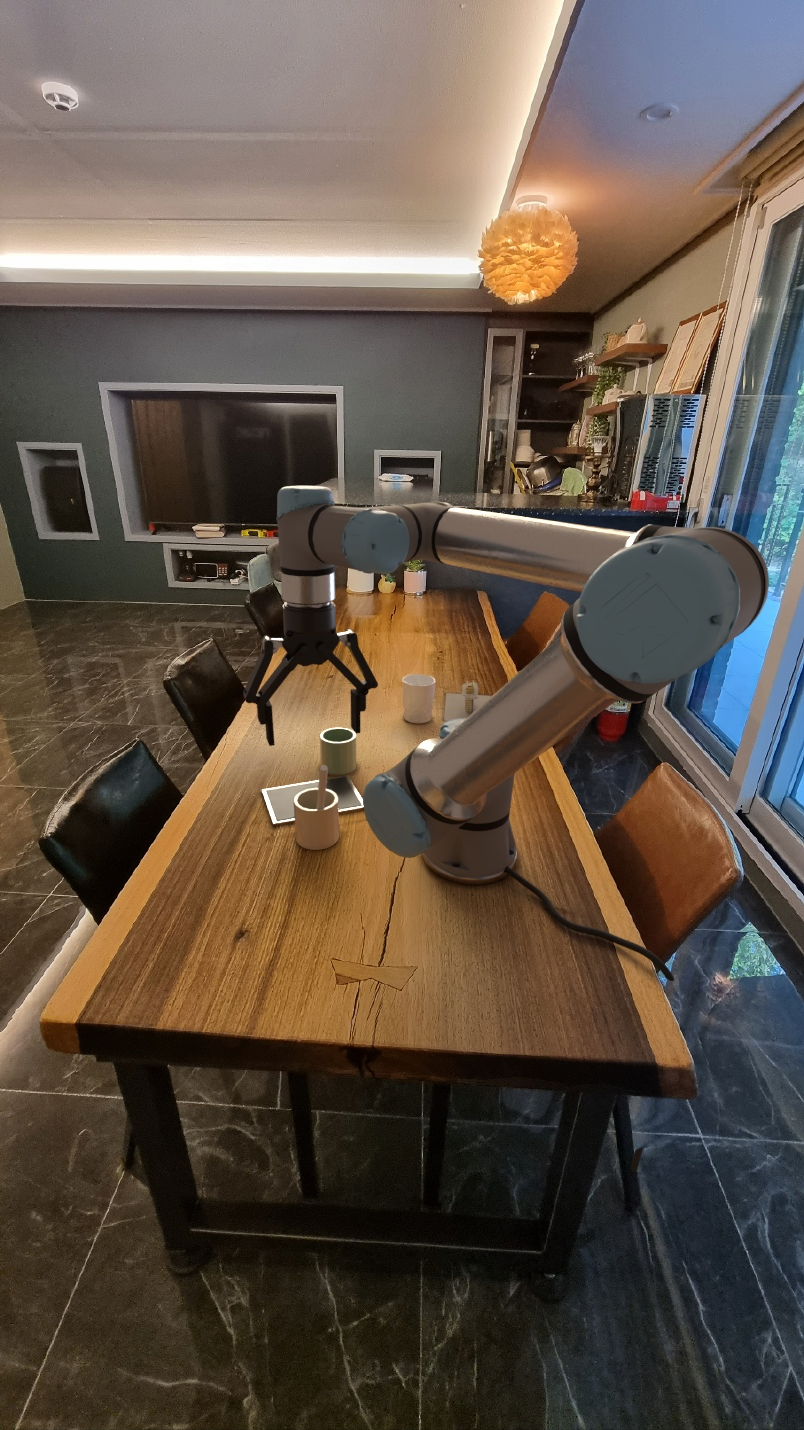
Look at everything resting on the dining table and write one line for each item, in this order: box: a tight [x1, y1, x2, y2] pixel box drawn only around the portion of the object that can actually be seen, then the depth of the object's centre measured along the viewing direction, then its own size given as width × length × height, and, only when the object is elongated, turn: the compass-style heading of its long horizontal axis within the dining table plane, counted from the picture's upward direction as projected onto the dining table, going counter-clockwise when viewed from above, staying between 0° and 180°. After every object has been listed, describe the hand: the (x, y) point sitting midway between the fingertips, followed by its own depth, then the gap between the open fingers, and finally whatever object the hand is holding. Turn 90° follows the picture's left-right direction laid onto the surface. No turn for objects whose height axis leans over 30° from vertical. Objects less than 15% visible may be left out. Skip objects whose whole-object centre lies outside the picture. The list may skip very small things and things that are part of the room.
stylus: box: [316, 765, 328, 809], centre depth 98 cm, size 1×1×16 cm
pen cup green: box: [319, 727, 358, 776], centre depth 124 cm, size 7×7×8 cm
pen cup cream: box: [294, 788, 340, 851], centre depth 102 cm, size 7×7×8 cm
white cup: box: [401, 673, 436, 724], centre depth 147 cm, size 8×8×10 cm
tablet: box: [261, 775, 364, 827], centre depth 113 cm, size 12×17×1 cm
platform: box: [443, 679, 492, 722], centre depth 155 cm, size 12×18×7 cm, turn 175°
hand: (314, 736), depth 96 cm, fingers open, 13 cm apart
